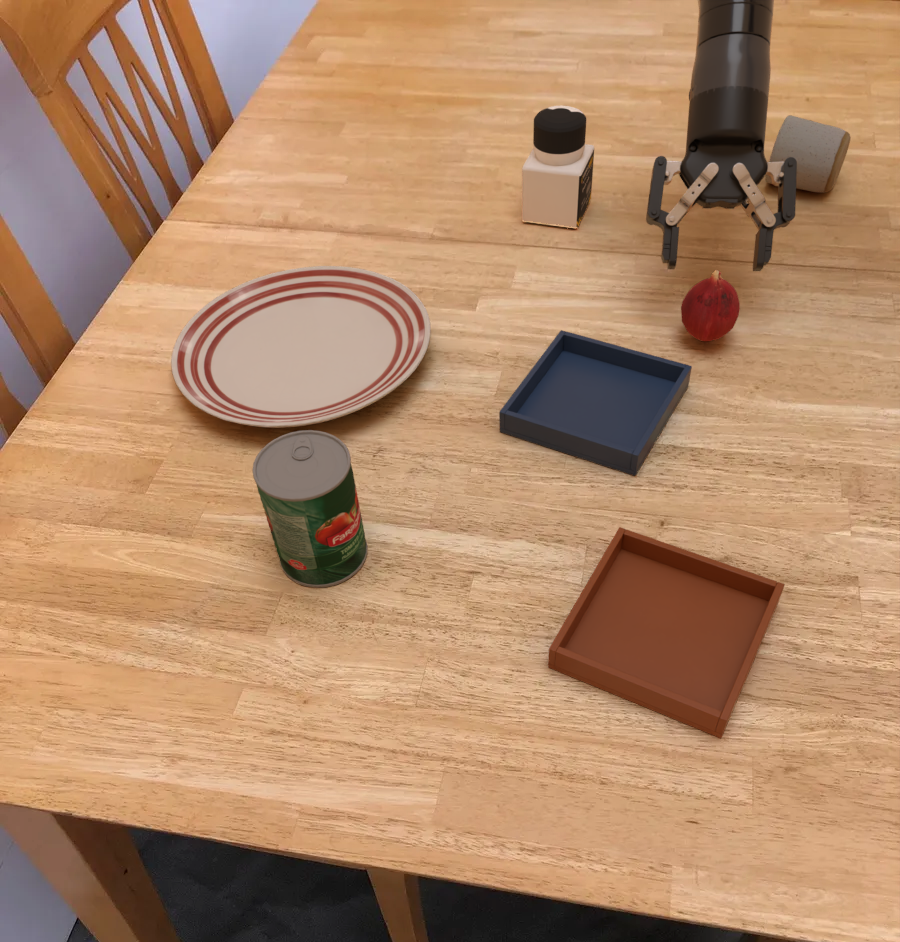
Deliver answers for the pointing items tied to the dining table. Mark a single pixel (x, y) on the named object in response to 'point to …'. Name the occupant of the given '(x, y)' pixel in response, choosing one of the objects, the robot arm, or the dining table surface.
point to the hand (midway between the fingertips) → (714, 268)
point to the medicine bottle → (558, 168)
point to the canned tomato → (312, 507)
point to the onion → (710, 308)
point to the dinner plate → (301, 346)
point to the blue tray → (596, 401)
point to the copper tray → (667, 630)
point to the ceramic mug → (811, 152)
